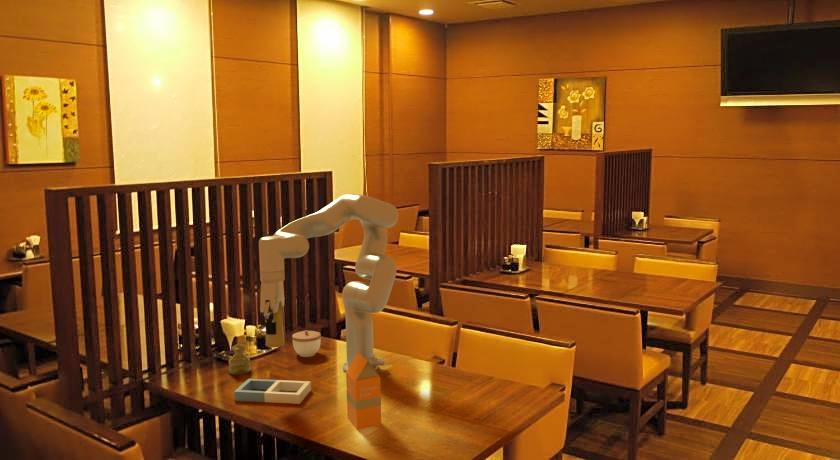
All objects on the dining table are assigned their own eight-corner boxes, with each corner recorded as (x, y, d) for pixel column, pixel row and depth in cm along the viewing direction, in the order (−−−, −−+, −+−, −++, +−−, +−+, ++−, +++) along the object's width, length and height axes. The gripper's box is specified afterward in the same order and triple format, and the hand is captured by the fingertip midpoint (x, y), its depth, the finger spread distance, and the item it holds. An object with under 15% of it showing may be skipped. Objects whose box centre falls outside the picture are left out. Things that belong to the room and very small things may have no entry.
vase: (280, 348, 221) (279, 303, 219) (262, 347, 222) (260, 303, 220) (287, 342, 227) (286, 299, 225) (269, 341, 228) (268, 298, 226)
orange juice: (356, 429, 201) (354, 362, 198) (347, 418, 209) (345, 353, 206) (382, 424, 204) (380, 358, 201) (371, 413, 212) (370, 349, 209)
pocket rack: (310, 390, 231) (310, 381, 231) (299, 403, 220) (299, 394, 220) (248, 387, 235) (248, 378, 234) (234, 400, 223) (234, 391, 223)
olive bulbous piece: (255, 370, 251) (253, 343, 250) (239, 376, 245) (237, 348, 243) (240, 366, 255) (239, 340, 254) (224, 372, 249) (223, 345, 247)
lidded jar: (308, 360, 260) (307, 336, 259) (287, 356, 266) (286, 332, 265) (327, 352, 269) (326, 329, 268) (306, 348, 275) (305, 325, 274)
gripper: (270, 270, 230) (272, 323, 233) (250, 281, 213) (253, 339, 216) (292, 270, 229) (294, 324, 232) (274, 281, 212) (277, 339, 215)
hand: (274, 330), depth 224 cm, fingers closed on vase, 5 cm apart
